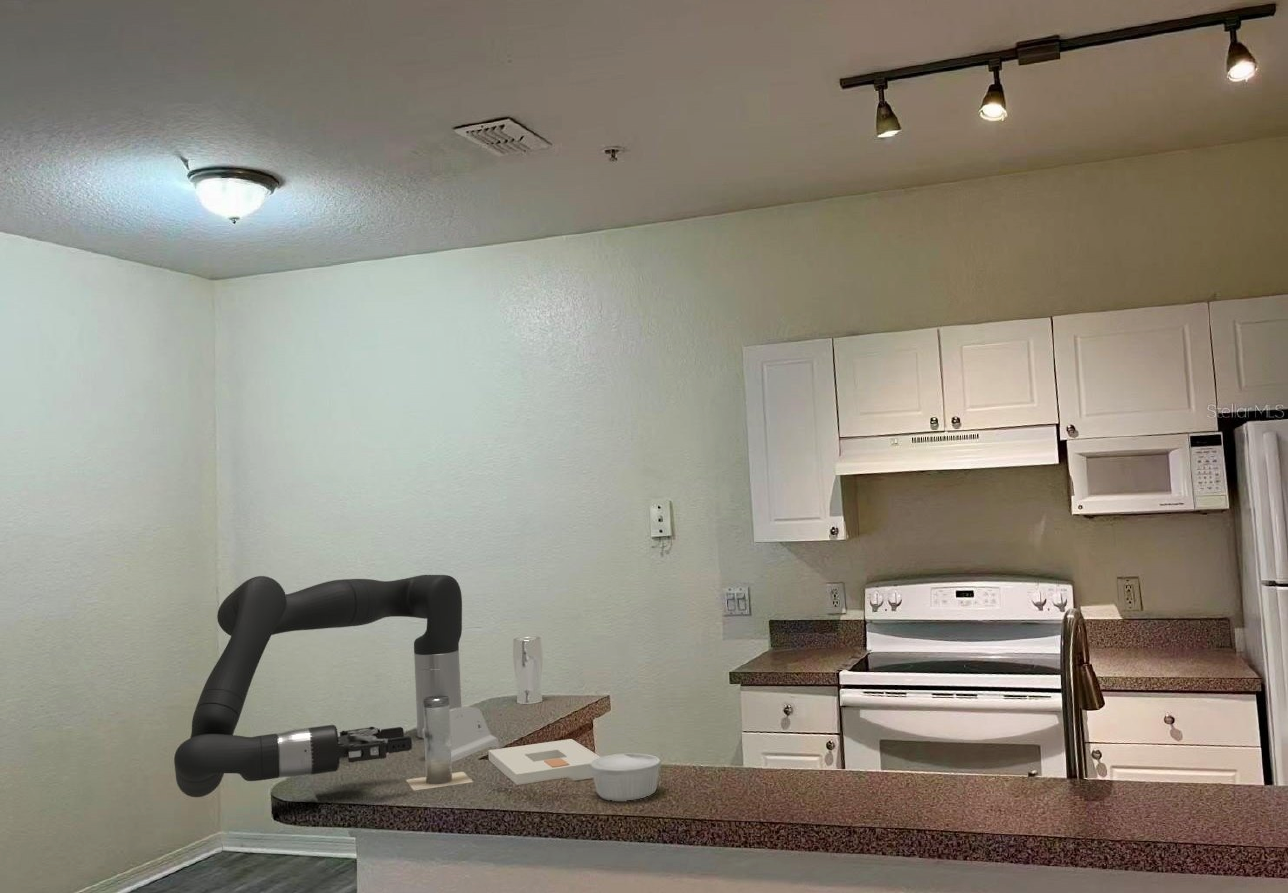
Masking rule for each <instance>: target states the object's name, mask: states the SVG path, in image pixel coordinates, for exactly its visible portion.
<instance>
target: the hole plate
mask: <svg viewBox="0 0 1288 893" xmlns="http://www.w3.org/2000/svg"><path fill="white" fill-rule="evenodd" d="M487 752H488V761H489V762H491V763H492V764H493V766H495V767H496V768H497V769H498V770H499V771H500V772H502V773H503V774H504V775H505V776H506V777H507V778H509V780H510V781H512V782H513V783H514V784H515V785H516V786H518V785H519V786H520V785H525V784H533V783H534V784H535V783H539V782H545V781H553V780H559V779H566V778H569V779H570V780H572V781H573V782H576V781H582V780H590V779H594V778H593V773H592V771H591V768H590V764H591V762H592V761H593V760H595V759H597V758H600V757H601V756H600V755H598V754H596V753H595V752H594V751H592V750H590V749H589V748H587V747H585V746H584V745H582V744H581V743H579V742H578V741H576V740H574V739H572V738H567V739H560V740H552V741H545V742H540V743H533V744H532V743H531V744H527V745H526V744H525V745H518V746H511V747H509V746H508V747H502V748H496V749H489V750H488V751H487Z"/></svg>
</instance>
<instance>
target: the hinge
mask: <svg viewBox="0 0 1288 893" xmlns="http://www.w3.org/2000/svg"><path fill="white" fill-rule="evenodd" d="M422 734H423V738H422V739H423V743H424V744H425V740H424V728H423V730H422ZM450 735H451V761H452V763H454V762H456V761H458V760H461V759H464V758H467V757H468V756H470V755H472V754H475V753H477V752H480V751H482V750H485V749H489V748H496V747H500V742H499V740H498V738H497V737H496V736H494V735H492V733H491V732H490V729H489V727H488V724H487V723H486V719H485V718H484V716H483V713H482V711H481V710H480V709H479V708H478V707H474V706H461V707H460V708H454V709H451V710H450Z"/></svg>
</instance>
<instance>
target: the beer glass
mask: <svg viewBox="0 0 1288 893" xmlns="http://www.w3.org/2000/svg"><path fill="white" fill-rule="evenodd" d="M512 660H513V661H512V662H513V667H514V669H513V670H514V673H515V678H516V682H517V696H516V697H517V698H516V703H517V704H519V705H533V704H534V705H535V704H539V703H541V702H543V695H542V690H541V678H542V671H543V668H542V667H543V647H542V641H541V637H539V636H522V637H516V638H513V640H512Z"/></svg>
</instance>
